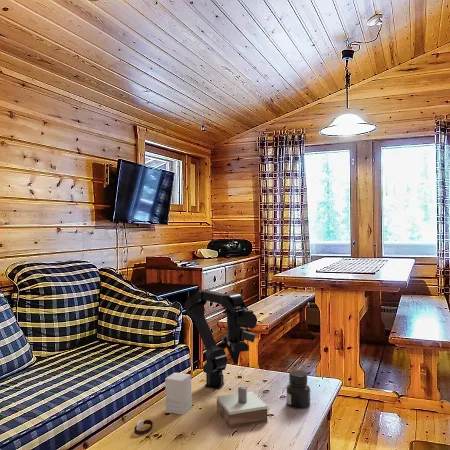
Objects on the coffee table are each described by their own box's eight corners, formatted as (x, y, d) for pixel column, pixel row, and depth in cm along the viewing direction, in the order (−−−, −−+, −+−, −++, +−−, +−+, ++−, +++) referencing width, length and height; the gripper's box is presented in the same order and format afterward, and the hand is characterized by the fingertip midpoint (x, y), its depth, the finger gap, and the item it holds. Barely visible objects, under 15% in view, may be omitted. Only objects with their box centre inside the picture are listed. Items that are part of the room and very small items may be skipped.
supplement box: (192, 407, 171) (191, 374, 170) (182, 415, 164) (182, 380, 164) (175, 404, 174) (175, 371, 173) (165, 412, 167) (164, 378, 167)
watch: (145, 425, 157) (145, 414, 157) (156, 428, 155) (156, 417, 155) (130, 434, 150) (130, 423, 150) (141, 437, 148) (141, 426, 148)
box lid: (216, 399, 167) (216, 382, 166) (252, 393, 171) (251, 378, 171) (229, 414, 153) (229, 397, 153) (267, 408, 158) (267, 391, 158)
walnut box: (216, 411, 167) (216, 399, 167) (252, 406, 171) (252, 394, 171) (229, 428, 154) (229, 415, 153) (267, 422, 158) (267, 409, 158)
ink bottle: (291, 398, 179) (291, 367, 178) (313, 401, 175) (313, 371, 175) (283, 407, 170) (282, 375, 170) (306, 411, 166) (305, 379, 166)
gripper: (260, 327, 177) (262, 368, 176) (245, 319, 194) (247, 355, 194) (233, 330, 174) (235, 371, 173) (220, 321, 192) (222, 358, 191)
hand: (235, 364), depth 183 cm, fingers closed
